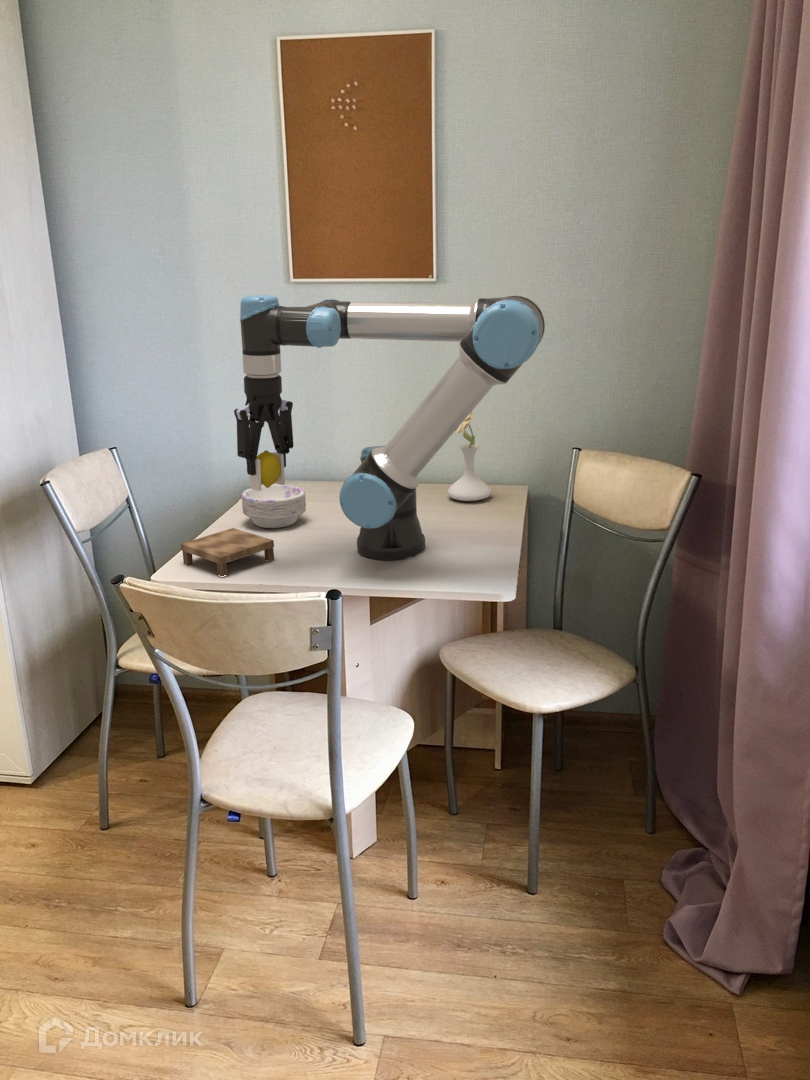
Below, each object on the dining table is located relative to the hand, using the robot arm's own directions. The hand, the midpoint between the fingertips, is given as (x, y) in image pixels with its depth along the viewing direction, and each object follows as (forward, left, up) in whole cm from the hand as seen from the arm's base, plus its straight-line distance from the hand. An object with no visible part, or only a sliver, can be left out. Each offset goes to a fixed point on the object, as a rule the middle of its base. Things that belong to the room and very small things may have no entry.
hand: (267, 486), depth 204 cm
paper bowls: (+23, -20, -18) cm, 35 cm away
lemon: (0, 0, -1) cm, 1 cm away
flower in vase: (-2, -64, -18) cm, 66 cm away
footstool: (+9, -2, -15) cm, 18 cm away
